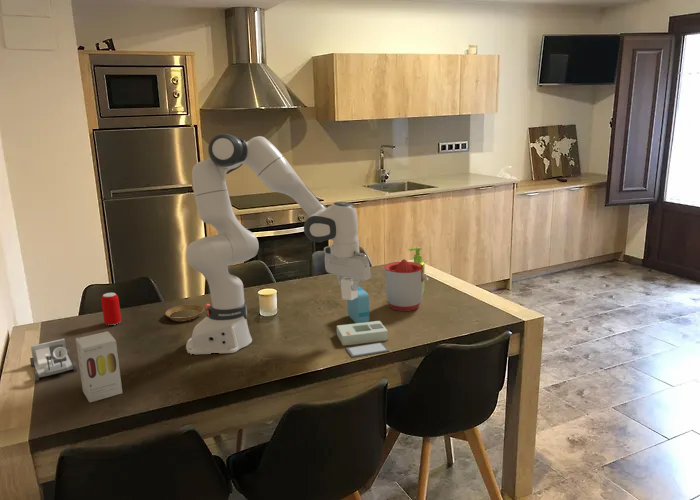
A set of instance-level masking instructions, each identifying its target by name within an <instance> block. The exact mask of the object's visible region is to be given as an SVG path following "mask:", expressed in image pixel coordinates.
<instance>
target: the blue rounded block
mask: <svg viewBox="0 0 700 500" xmlns="http://www.w3.org/2000/svg"><path fill="white" fill-rule="evenodd" d="M357 288H358V290H357V293H358V297H357V298H355V299H353V300H347V315H348V317H349V318H350V319H351V320H352V321H353V322H354V324H355V323H364V322H370V296H369V293H368V292H367V291H366V290H364V289H363V288H362V287H361V286H359V285H357Z"/></svg>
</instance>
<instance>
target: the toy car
mask: <svg viewBox="0 0 700 500" xmlns="http://www.w3.org/2000/svg"><path fill="white" fill-rule="evenodd" d="M30 349H31V350H30V351H31V355H32V357H30V358H29V360H30V366H31V367H32V368H33V367H34V369H35V371H34V378H35V381H36V382H38V381H40V378H43V377H48V376H53V375H56V374H60V373H65V372H67V371H71V370H72V371H73V372H77V371H78V368H77V364H76V362H74V361H73V362H72V360H71V359H70V358H71V352H70V351H71V350H70V349H69V348H68V349H67V346H66V340H65V338H60V339H56V340H52V341H48V342H43V343H42V342H41V343H38V344H34V345H30Z"/></svg>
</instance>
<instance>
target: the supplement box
mask: <svg viewBox="0 0 700 500" xmlns="http://www.w3.org/2000/svg"><path fill="white" fill-rule="evenodd" d="M75 344H76V350H77V351H76V352H77V359H78V365H79V366H78V367H79V373H80V379H81V388H82V392H83V394H84V396H85V397H86V399H87V401H88V402H89V403H90V404H91V403H93V402H98V401H100V400H103V399H107V398H111V397H114V396H117V395H118V396H119V395H122V394H123V385H122V380H121V371H120V362H119V355H118V346H117V340H116V338H115V337H114V336H113V335H112V334H111V333H110V332H109V331H104V332H99V333H94V334H89V335H86V336H82V337H81V336H80V337H76V338H75Z"/></svg>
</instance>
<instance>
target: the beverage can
mask: <svg viewBox="0 0 700 500" xmlns="http://www.w3.org/2000/svg"><path fill="white" fill-rule="evenodd" d="M100 300H101V301H100V302H101V310H102V315H103V322H104V324H105V325H107V324H108V325H107V326H109V325H112V324H113V325H114V326H117V325H119V324H120V323H121V322H122V314H121V306H120V299H119V295H117V293H115V292H106V293H104V294H103V295H102V296H101V298H100ZM118 323H119V324H118ZM116 324H117V325H116Z"/></svg>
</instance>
